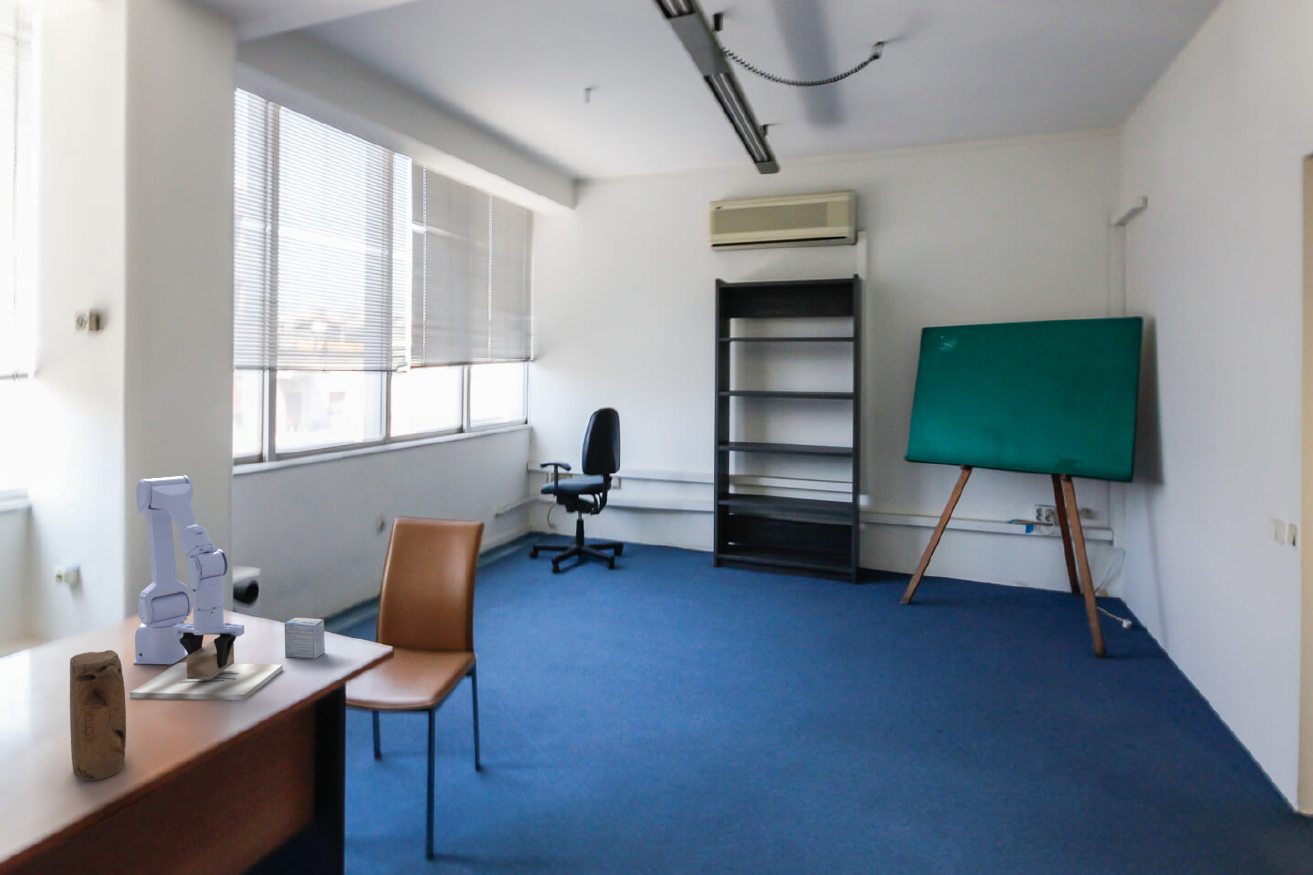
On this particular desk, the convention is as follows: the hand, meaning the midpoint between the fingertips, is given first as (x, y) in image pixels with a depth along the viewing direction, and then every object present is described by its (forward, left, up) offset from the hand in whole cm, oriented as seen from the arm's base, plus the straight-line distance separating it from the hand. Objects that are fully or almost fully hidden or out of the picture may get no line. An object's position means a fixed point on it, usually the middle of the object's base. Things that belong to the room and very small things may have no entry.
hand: (209, 665), depth 160 cm
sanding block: (0, 0, -1) cm, 1 cm away
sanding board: (0, 0, -4) cm, 4 cm away
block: (+2, -35, -4) cm, 35 cm away
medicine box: (+13, +17, -4) cm, 22 cm away
